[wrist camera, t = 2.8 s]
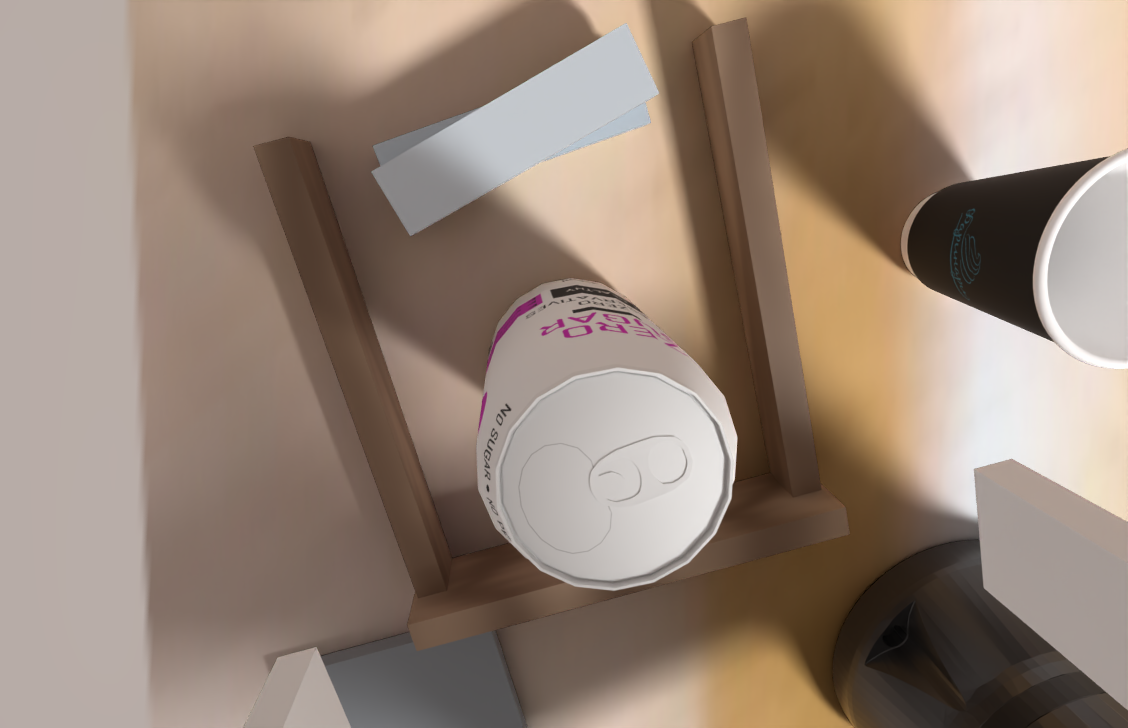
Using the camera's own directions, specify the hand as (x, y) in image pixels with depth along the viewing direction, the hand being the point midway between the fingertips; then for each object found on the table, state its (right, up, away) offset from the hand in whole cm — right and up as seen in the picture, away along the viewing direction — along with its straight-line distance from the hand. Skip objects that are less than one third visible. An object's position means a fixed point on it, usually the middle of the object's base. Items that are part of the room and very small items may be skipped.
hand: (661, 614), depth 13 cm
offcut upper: (-4, +15, +16) cm, 22 cm away
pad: (-10, -16, +26) cm, 32 cm away
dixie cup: (+17, +11, +21) cm, 29 cm away
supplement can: (-2, +5, +21) cm, 22 cm away
